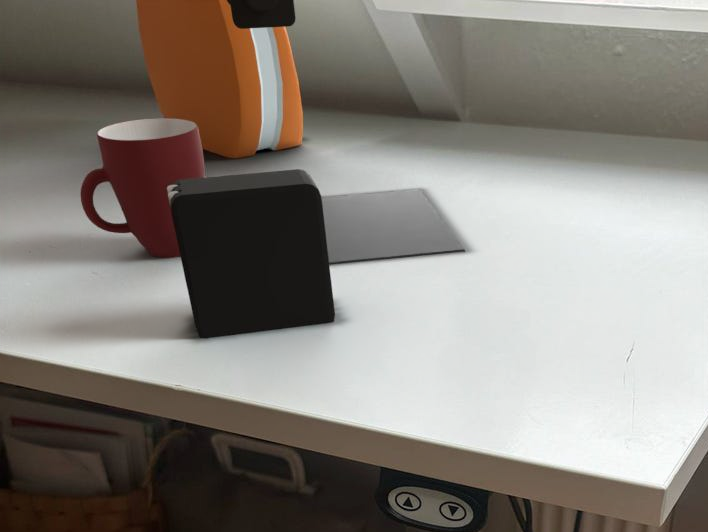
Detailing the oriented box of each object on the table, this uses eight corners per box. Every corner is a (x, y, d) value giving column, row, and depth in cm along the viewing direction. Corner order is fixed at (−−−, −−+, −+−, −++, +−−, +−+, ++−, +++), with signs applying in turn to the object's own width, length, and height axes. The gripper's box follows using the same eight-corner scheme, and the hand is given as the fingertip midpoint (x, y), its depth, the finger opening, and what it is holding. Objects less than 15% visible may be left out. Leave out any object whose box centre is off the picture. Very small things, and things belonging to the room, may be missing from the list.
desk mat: (231, 279, 78) (230, 272, 78) (222, 212, 93) (221, 205, 93) (465, 256, 82) (465, 249, 81) (420, 195, 97) (419, 188, 96)
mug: (116, 283, 78) (82, 150, 71) (87, 257, 83) (52, 131, 77) (235, 257, 82) (212, 130, 76) (201, 234, 87) (177, 114, 81)
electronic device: (336, 327, 70) (320, 182, 63) (199, 344, 68) (167, 196, 61) (327, 307, 73) (310, 167, 66) (195, 323, 71) (165, 180, 64)
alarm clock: (322, 149, 112) (294, -91, 97) (250, 165, 107) (210, -86, 92) (226, 121, 125) (189, -95, 110) (158, 134, 120) (110, -91, 105)
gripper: (118, -409, 47) (190, 0, 58) (93, -508, 34) (191, 41, 45) (268, -404, 49) (311, -5, 60) (299, -498, 36) (346, 33, 47)
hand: (259, 14), depth 53 cm, fingers open, 9 cm apart
